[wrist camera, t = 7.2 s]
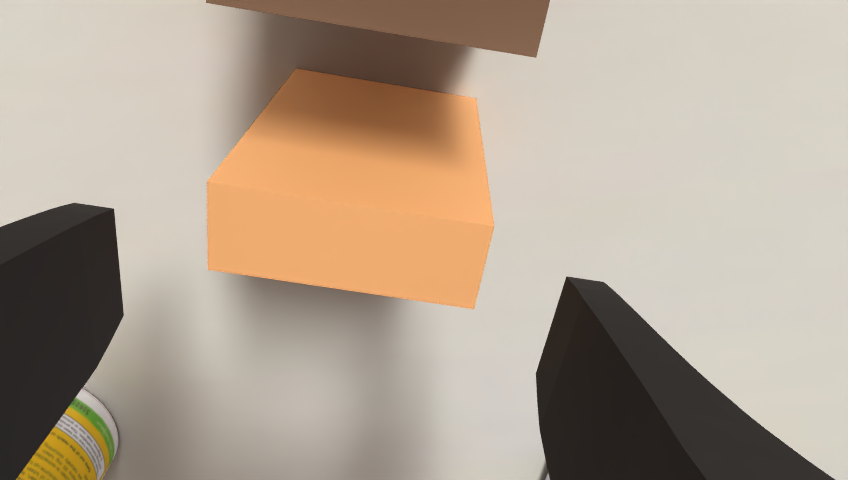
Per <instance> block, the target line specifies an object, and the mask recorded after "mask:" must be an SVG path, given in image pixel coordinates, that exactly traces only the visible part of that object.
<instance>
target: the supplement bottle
mask: <svg viewBox="0 0 848 480" xmlns="http://www.w3.org/2000/svg"><path fill="white" fill-rule="evenodd" d="M117 448H118V432H117V428H116V425H115V423H114V420H113V418H112V416H111V415H110V413H109V412H108V410H107V409H106V408H105V406H104V405H103V404H102V403H101V402H100V401H99V400H98V399H97V398H95V397H94V396H93V395H92V394H90V393H89V392H87V391H86V390H84V389H83V388H82V389H81V390H80V392H79V393H78V395H77V396H76V398H75V399H74V400H73V402H72V403H71V405H70V406H69V407H68V409H67V410H66V412H65V413H64V414H63V416H62V417H61V418H60V420H59V421H58V423H57V424H56V425H55V427H54V428H53V429H52V431H51V432H50V434H49V435H48V436H47V438H46V439H45V440H44V442H43V443H42V445H41V446H40V447H39V449H38V450H37V451H36V453H35V454H34V456H33V457H32V458H31V460H30V461H29V462H28V464H27V465H26V467H25V468H24V469H23V471H22V472H21V473H20V475H19V476H18V478H17V479H16V480H102V479H103V477H104V475H105V474H106V472H107V470H108V468H109V466H110V464H111V463H112V461H113V459H114V457H115V455H116V452H117Z"/></svg>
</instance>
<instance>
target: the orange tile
mask: <svg viewBox="0 0 848 480" xmlns="http://www.w3.org/2000/svg"><path fill="white" fill-rule="evenodd" d="M493 230H494V221H493V213H492V206H491V199H490V192H489V185H488V178H487V171H486V164H485V157H484V150H483V143H482V136H481V129H480V122H479V115H478V108H477V101H476V98H470V97H464V96H458V95H452V94H446V93H440V92H434V91H428V90H422V89H416V88H410V87H404V86H398V85H392V84H386V83H380V82H374V81H368V80H362V79H356V78H350V77H344V76H338V75H332V74H326V73H320V72H314V71H308V70H302V69H295V70H294V72H293V73H292V74H291V76H290V77H289V78H288V79H287V81H286V82H285V83H284V84H283V86H282V87H281V88H280V90H279V91H278V92H277V93H276V95H275V96H274V97H273V98H272V100H271V101H270V102H269V103H268V105H267V106H266V107H265V109H264V110H263V111H262V112H261V114H260V115H259V116H258V117H257V119H256V120H255V121H254V123H253V124H252V125H251V126H250V128H249V129H248V130H247V131H246V133H245V134H244V135H243V137H242V138H241V139H240V140H239V142H238V143H237V144H236V145H235V147H234V148H233V149H232V150H231V152H230V153H229V154H228V156H227V157H226V158H225V159H224V161H223V162H222V163H221V164H220V166H219V167H218V168H217V170H216V171H215V172H214V173H213V175H212V176H211V177H210V178H209V180H208V181H207V236H208V270H214V271H221V272H227V273H234V274H241V275H248V276H254V277H261V278H268V279H275V280H281V281H288V282H295V283H301V284H308V285H315V286H322V287H328V288H335V289H342V290H349V291H355V292H362V293H369V294H376V295H382V296H389V297H396V298H402V299H409V300H416V301H423V302H429V303H436V304H443V305H450V306H456V307H463V308H470V309H474V308H475V303H476V299H477V295H478V291H479V287H480V283H481V279H482V275H483V271H484V267H485V262H486V258H487V254H488V250H489V246H490V242H491V238H492V234H493Z"/></svg>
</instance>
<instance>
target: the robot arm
mask: <svg viewBox="0 0 848 480" xmlns="http://www.w3.org/2000/svg"><path fill="white" fill-rule="evenodd" d="M123 316H124V313H123V302H122V291H121V281H120V270H119V259H118V248H117V237H116V226H115V215H114V209H112V208H105V207H98V206H92V205H85V204H78V203H72V204H68V205H64V206H60V207H57V208H53V209H50V210H47V211H44V212H41V213H38V214H35V215H32V216H29V217H27V218H24V219H21V220H18V221H15V222H13V223H10V224H7V225H5V226H2V227H0V480H16V479H17V478H18V476H19V475H20V473H21V472H22V471H23V469H24V468H25V467H26V465H27V464H28V462H29V461H30V460H31V458H32V457H33V456H34V454H35V453H36V451H37V450H38V449H39V447H40V446H41V445H42V443H43V442H44V440H45V439H46V438H47V436H48V435H49V434H50V432H51V431H52V429H53V428H54V427H55V425H56V424H57V423H58V421H59V420H60V418H61V417H62V416H63V414H64V413H65V412H66V410H67V409H68V407H69V406H70V405H71V403H72V402H73V400H74V399H75V398H76V396H77V395H78V393H79V392H80V390H81V389H82V388H83V386H84V385H85V383H86V382H87V381H88V379H89V378H90V376H91V375H92V373H93V372H94V370H95V369H96V368H97V366H98V364H99V362H100V360H101V358H102V357H103V355H104V353H105V351H106V349H107V347H108V346H109V344H110V342H111V340H112V338H113V336H114V334H115V332H116V330H117V328H118V326H119V324H120V322H121V320H122V318H123ZM536 383H537V402H538V415H539V427H540V433H541V438H542V444H543V449H544V453H545V458H546V463H547V468H548V474H547V477H546V479H545V480H835V479H833V478H832V477H830V476H829V475H828V474H826V473H825V472H823V471H822V470H820V469H819V468H817V467H816V466H815V465H813V464H812V463H810V462H809V461H808V460H806V459H805V458H804V457H802V456H801V455H800V454H798V453H797V452H796V451H794V450H793V449H792V448H790V447H789V446H788V445H786V444H785V443H784V442H782V441H781V440H780V439H778V438H777V437H776V436H774V435H773V434H772V433H770V432H769V431H768V430H766V429H765V428H764V427H762V426H761V425H760V424H759V423H757V422H756V421H755V420H754V419H752V418H751V417H750V416H749V415H747V414H746V413H745V412H744V411H743V410H741V409H740V408H739V407H738V406H737V405H736V404H734V403H733V402H732V401H731V400H730V399H729V398H727V397H726V396H725V395H724V394H723V393H722V392H720V391H719V390H718V389H717V388H716V387H715V386H713V385H712V384H711V383H710V382H709V381H708V380H707V379H706V378H704V377H703V376H702V375H701V374H700V373H699V372H698V371H697V370H696V369H695V368H694V367H692V366H691V365H690V364H689V363H688V362H687V361H686V360H685V359H684V358H683V357H682V356H681V355H680V354H679V353H678V352H676V351H675V350H674V349H673V348H672V347H671V346H670V345H669V344H668V343H667V342H666V341H665V340H664V339H663V338H662V337H661V336H660V335H659V334H658V333H657V332H656V331H655V330H654V329H653V328H652V327H651V326H650V325H649V324H648V323H647V322H646V321H645V320H644V319H643V318H642V317H641V316H640V315H639V314H638V313H637V312H636V311H635V310H634V309H633V308H631V307H630V306H629V305H628V304H627V303H626V302H625V301H624V300H623V299H622V298H621V297H620V296H619V295H618V294H617V293H616V292H615V291H614V290H612V289H611V288H610V287H609V286H608V285H607V284H605V283H604V282H600V281H593V280H586V279H580V278H573V277H566V280H565V283H564V286H563V289H562V293H561V296H560V299H559V302H558V305H557V308H556V312H555V315H554V318H553V321H552V324H551V327H550V331H549V334H548V337H547V340H546V343H545V346H544V350H543V353H542V356H541V359H540V362H539V365H538V369H537V372H536Z"/></svg>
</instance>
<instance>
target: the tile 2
mask: <svg viewBox="0 0 848 480" xmlns="http://www.w3.org/2000/svg"><path fill="white" fill-rule="evenodd" d="M549 2H550V0H206V3H211V4H217V5H223V6H229V7H235V8H241V9H247V10H253V11H259V12H265V13H271V14H277V15H283V16H289V17H295V18H301V19H307V20H313V21H319V22H325V23H331V24H337V25H343V26H349V27H355V28H361V29H367V30H373V31H379V32H385V33H391V34H397V35H403V36H409V37H415V38H421V39H427V40H433V41H439V42H445V43H451V44H457V45H463V46H469V47H476V48H482V49H488V50H494V51H500V52H506V53H512V54H518V55H524V56H530V57H536V56H537V52H538V48H539V44H540V39H541V35H542V31H543V27H544V23H545V19H546V14H547V10H548V6H549Z"/></svg>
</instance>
